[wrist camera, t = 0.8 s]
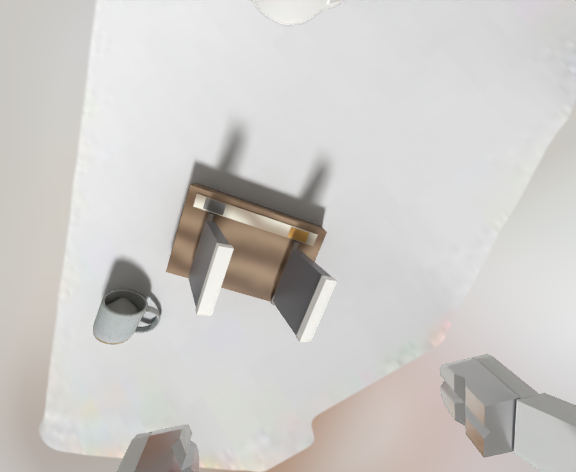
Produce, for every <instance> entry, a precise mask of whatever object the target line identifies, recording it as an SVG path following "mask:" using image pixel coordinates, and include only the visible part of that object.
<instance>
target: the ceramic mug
mask: <svg viewBox="0 0 576 472" xmlns="http://www.w3.org/2000/svg"><path fill="white" fill-rule="evenodd" d="M145 312H150V313H153V314H155V315H156V316H157V317H156V318H155V320H154V321H153V322H152V323H151V325H149V326H144V327H137V326H138V324H139V322H140V320H141V319H142V317H143V315H144V313H145ZM159 322H160V313H159V311H158V310H157V309H155V308H153V307H151V306H148V304H147V300H146V299H145V298H144V297H143V296H142V295H141V294H139V293H137V292H134V291H131V290H126V289H119V290H114V291H111V292H109V293H107V294H106V295H105V296H104V297H103V299H102V302H101V305H100V308H99V311H98V314H97V317H96V319H95V322H94V326H93V333H94V336H95V338H96V339H97V340H99V341H100V342H103V343H106V344H120V343H123V342H125V341H127V340H128V339H129V338H130V337H131V336H132V335H133V334H134V332H136V333H144V332H148V331H151V330H153V329H154V328H155V327H156V326H157V325H158V323H159Z"/></svg>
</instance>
